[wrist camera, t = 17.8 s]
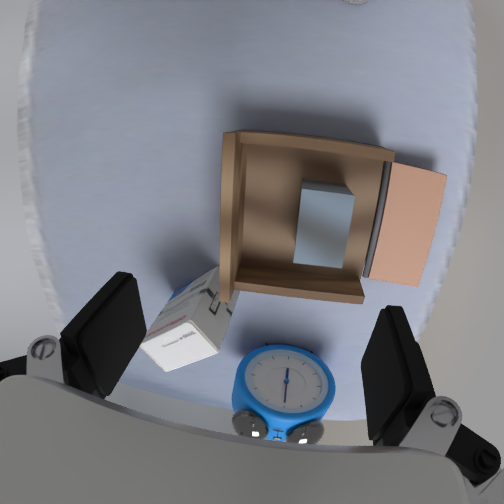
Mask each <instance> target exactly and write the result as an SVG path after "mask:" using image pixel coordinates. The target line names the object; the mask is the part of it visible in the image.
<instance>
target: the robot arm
mask: <svg viewBox="0 0 504 504" xmlns="http://www.w3.org/2000/svg"><path fill="white" fill-rule="evenodd" d="M146 331H147V329H146V324H145V320H144V315H143V310H142V306H141V301H140V295H139V290H138V285H137V280H136V278H134V277H133V275H132V274H131V273H126V272H120V271H119V272H117V273H116V274H115V275H114V276H113V277H112V278H111V279H110V280H109V281H108V282H107V283H106V284H105V285H104V286H103V287H102V288H101V289H100V290H99V291H98V292H97V293H96V294H95V295H94V296H93V298H92V299H91V300H90V301H89V302H88V303H87V304H86V305H85V306H84V307H83V308H82V309H81V310H80V312H79V313H78V314H77V315H76V316H75V317H74V318H73V319H72V320H71V322H70V323H69V324H68V325H67V326H66V327H65V328H64V330H63V331H62V332H61V333H60V335H61V338H60V339H59V340H58V339H57V338H56V337H54V336H50V335H46V336H42V337H39V338H37V339H35V340H34V341H33V342H32V343H31V344H30V346H29V347H28V351H27V355H25V356H22V357H18V358H14V359H11V360H7V361H3V362H0V504H504V468H503V469H501V468H500V464H501V457H500V454H499V451H498V450H497V448H496V447H494V446H493V445H492V444H491V443H489V442H488V441H486V440H485V439H483V438H482V437H480V436H479V435H477V434H476V433H474V432H473V431H471V430H470V429H469V428H467V427H466V426H464V425H463V424H461V421H462V412H461V409H460V407H459V406H458V404H457V403H456V402H455V401H454V400H452V399H450V398H448V397H445V396H438V397H436V395H435V392H434V388H433V385H432V382H431V378H430V375H429V372H428V369H427V366H426V363H425V360H424V357H423V354H422V351H421V349H420V346H419V344H418V343H417V342H415V339H414V336H413V334H412V331H411V328H410V325H409V323H408V320H407V318H406V315H405V312H404V310H403V308H402V307H401V306H391V305H387V306H386V308H385V309H381V311H380V313H379V316H378V319H377V322H376V324H375V327H374V330H373V332H372V335H371V338H370V340H369V343H368V345H367V348H366V350H365V353H364V355H363V358H362V361H361V372H362V380H363V388H364V396H365V405H366V415H367V426H368V436H369V440H373V446H339V445H318V444H303V443H291V442H281V441H272V440H264V439H257V438H250V437H244V436H238V435H232V434H226V433H221V432H216V431H210V430H206V429H201V428H197V427H193V426H189V425H185V424H181V423H177V422H173V421H169V420H166V419H162V418H158V417H155V416H152V415H148V414H145V413H142V412H138V411H136V410H132V409H129V408H127V407H124V406H121V405H118V404H115V403H112V402H109V401H107V400H104V399H105V397H106V396H109V395H110V394H111V393H112V391H113V389H114V387H115V386H116V384H117V382H118V381H119V379H120V377H121V376H122V374H123V372H124V371H125V369H126V367H127V366H128V364H129V362H130V361H131V359H132V357H133V356H134V354H135V353H136V351H137V349H138V348H139V346H140V344H141V343H142V341H143V340H144V338H145V336H146Z"/></svg>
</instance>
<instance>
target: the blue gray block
mask: <svg viewBox="0 0 504 504" xmlns="http://www.w3.org/2000/svg"><path fill="white" fill-rule="evenodd" d="M354 199H355V195H354V194H353V193H352V192H351V191H350V189H349V188H348V186H347V185H346V184H341V183H334V182H326V181H318V180H310V179H302V182H301V192H300V202H299V211H298V220H297V229H296V237H295V250H294V259H293V263H299V264H308V265H317V266H326V267H335V268H342V265H343V261H344V256H345V251H346V245H347V240H348V235H349V229H350V224H351V218H352V212H353V206H354Z"/></svg>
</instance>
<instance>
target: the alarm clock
mask: <svg viewBox="0 0 504 504" xmlns="http://www.w3.org/2000/svg"><path fill="white" fill-rule="evenodd" d="M265 345H266V346H263V347H260V348H257V349H255V350H253V351H252V352H250V353H249V354H247V355H246V356H245V357H244V358H243V359H242V361H241V362H240V364H239V366H238V368H237V372H236V377H235V382H234V387H233V393H232V406H233V410H234V412H235V413H234V415H233V417H232V426H233V429H234V430H235V432H236V433H237V434H238V436H244V437H250V438H257V439H264V438H267V439H271V440H278V441H287V442H291V443H303V444H316V443H318V441H320V439H321V438H322V436H323V434H324V426H323V423H322V422H321V419H322V418H323V416H324V415H325V413H326V411H327V410H328V408H329V406H330V405H331V403H332V401H333V399H334V395H335V381H334V378H333V375H332V373H331V371H330V370H329V368H328V367H327V366H326V364H325V363H324V362H323V361H322V360H320V359H319V358H318V357H317V356H315V355H313V354H312V353H313V352H312V351H311V352H308V351H306V350H304V349H301V348H298V347H294V346H289V345H268V343H266V344H265Z"/></svg>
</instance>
